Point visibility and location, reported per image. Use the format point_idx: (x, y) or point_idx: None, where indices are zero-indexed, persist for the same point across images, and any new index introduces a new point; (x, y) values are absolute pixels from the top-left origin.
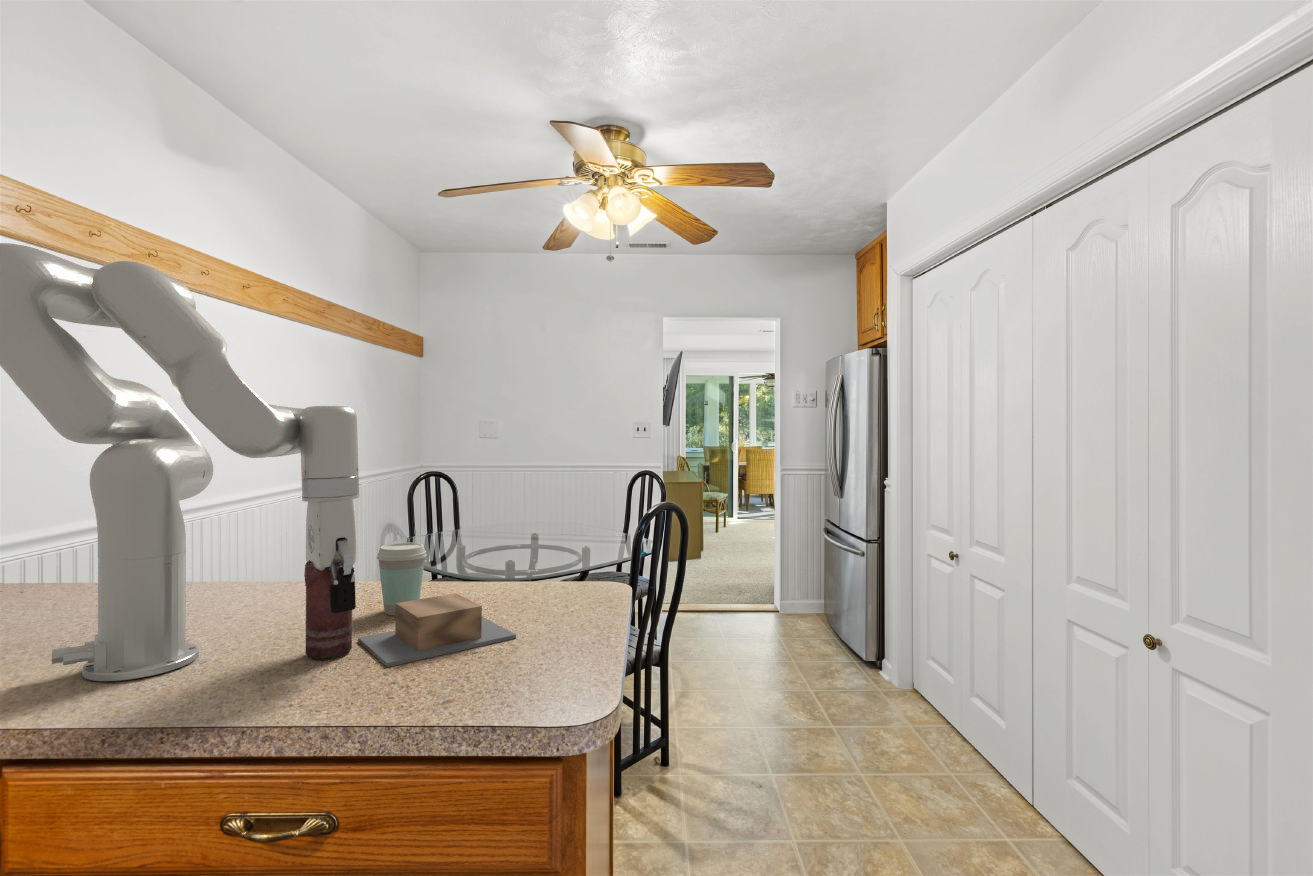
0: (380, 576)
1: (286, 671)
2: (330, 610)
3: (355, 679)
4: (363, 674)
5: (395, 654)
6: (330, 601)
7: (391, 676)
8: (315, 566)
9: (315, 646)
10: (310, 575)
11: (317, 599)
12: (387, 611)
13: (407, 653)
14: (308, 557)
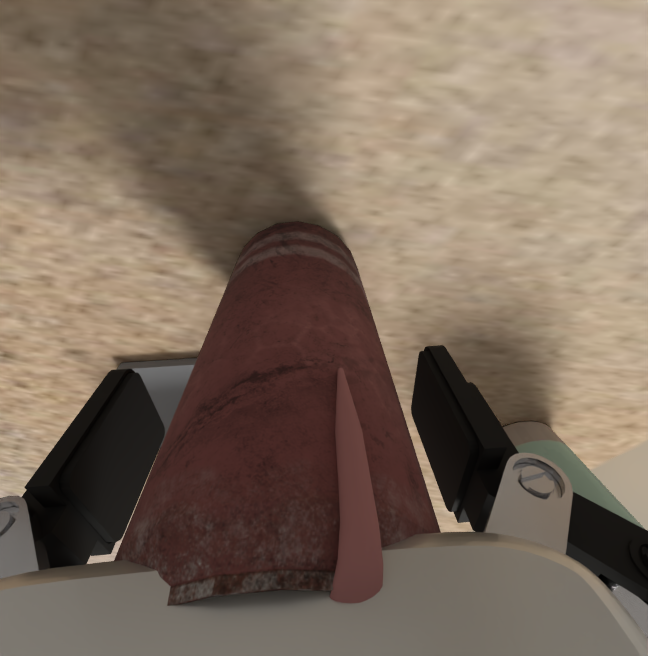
0: (605, 507)
1: (189, 144)
2: (123, 371)
3: (51, 297)
4: (86, 317)
5: (172, 391)
6: (98, 403)
7: (54, 358)
8: (82, 592)
9: (243, 254)
10: (191, 467)
11: (196, 364)
12: (517, 429)
13: (170, 408)
14: (421, 631)
